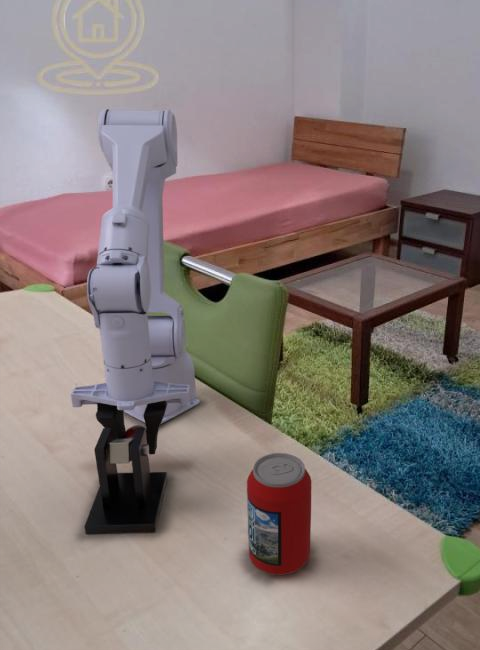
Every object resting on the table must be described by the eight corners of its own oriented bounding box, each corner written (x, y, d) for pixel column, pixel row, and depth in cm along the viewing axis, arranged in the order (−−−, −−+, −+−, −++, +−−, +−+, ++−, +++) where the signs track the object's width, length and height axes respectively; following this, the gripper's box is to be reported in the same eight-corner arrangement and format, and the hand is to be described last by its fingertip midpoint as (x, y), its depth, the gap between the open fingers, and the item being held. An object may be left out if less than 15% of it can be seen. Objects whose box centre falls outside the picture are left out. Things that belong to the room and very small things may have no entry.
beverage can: (240, 545, 72) (237, 457, 67) (295, 529, 74) (296, 443, 69) (261, 588, 66) (259, 495, 61) (320, 569, 68) (322, 478, 63)
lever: (127, 448, 84) (126, 423, 84) (152, 448, 85) (152, 423, 85) (104, 468, 73) (104, 438, 73) (134, 467, 73) (134, 438, 73)
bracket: (105, 480, 82) (96, 415, 78) (167, 479, 82) (161, 414, 78) (85, 534, 73) (73, 464, 69) (155, 532, 73) (148, 462, 69)
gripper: (58, 374, 74) (73, 469, 79) (183, 372, 75) (190, 467, 80) (74, 348, 80) (88, 438, 86) (189, 346, 81) (195, 436, 87)
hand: (138, 450), depth 83 cm, fingers closed on lever, 3 cm apart
